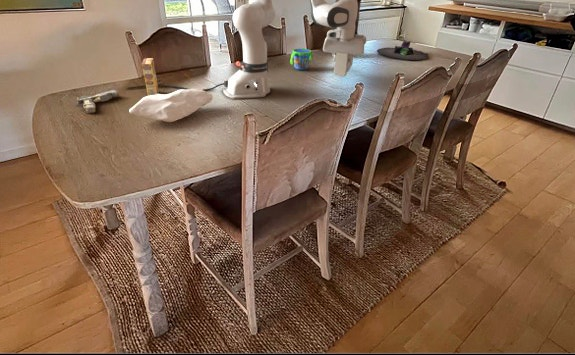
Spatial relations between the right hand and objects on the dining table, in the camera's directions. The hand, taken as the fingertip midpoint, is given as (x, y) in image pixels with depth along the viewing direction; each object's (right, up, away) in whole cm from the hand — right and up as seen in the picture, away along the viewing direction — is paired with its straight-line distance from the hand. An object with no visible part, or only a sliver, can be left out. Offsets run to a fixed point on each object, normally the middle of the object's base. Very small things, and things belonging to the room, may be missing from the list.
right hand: (347, 54), depth 195 cm
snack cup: (-24, -3, +16) cm, 29 cm away
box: (-2, -9, -2) cm, 10 cm away
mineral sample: (+47, +18, +54) cm, 74 cm away
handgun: (-112, -35, -39) cm, 123 cm away
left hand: (-5, -8, -11) cm, 14 cm away
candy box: (-94, -28, -28) cm, 102 cm away
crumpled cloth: (-79, -40, -45) cm, 100 cm away
